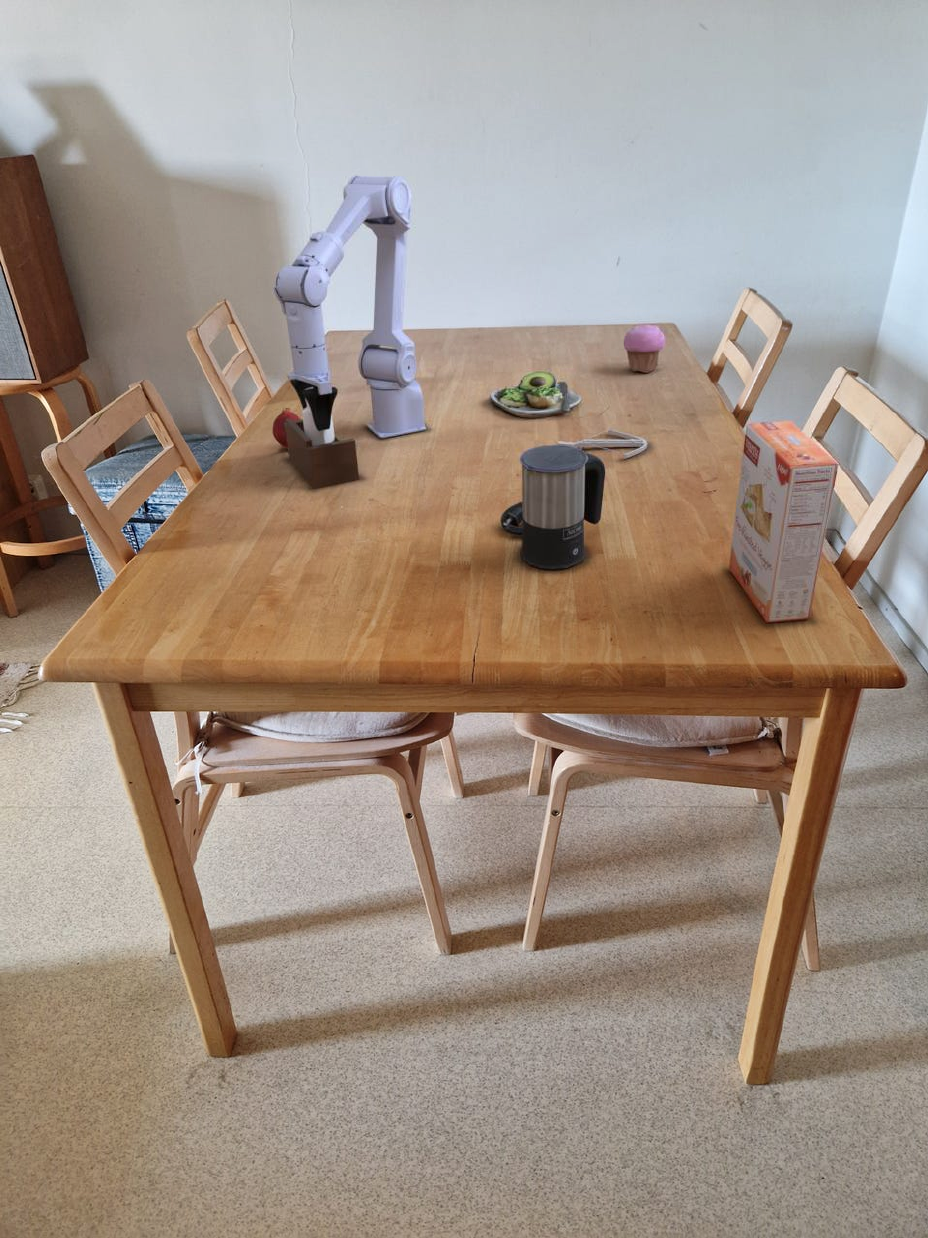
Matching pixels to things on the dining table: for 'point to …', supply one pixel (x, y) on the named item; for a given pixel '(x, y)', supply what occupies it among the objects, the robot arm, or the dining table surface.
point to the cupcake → (644, 347)
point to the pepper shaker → (312, 431)
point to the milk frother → (556, 504)
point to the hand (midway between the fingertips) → (318, 424)
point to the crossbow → (612, 443)
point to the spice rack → (321, 457)
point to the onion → (283, 426)
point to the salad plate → (536, 397)
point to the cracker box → (781, 519)
